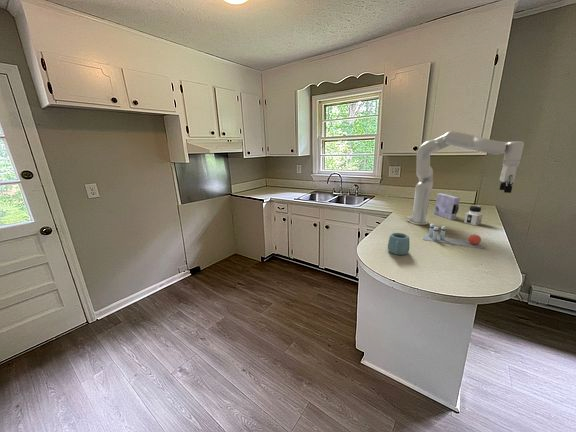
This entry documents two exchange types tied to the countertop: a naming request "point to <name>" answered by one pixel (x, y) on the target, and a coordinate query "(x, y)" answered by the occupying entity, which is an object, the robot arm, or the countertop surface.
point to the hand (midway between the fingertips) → (504, 191)
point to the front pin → (442, 232)
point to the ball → (474, 239)
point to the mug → (398, 244)
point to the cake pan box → (446, 206)
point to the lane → (453, 241)
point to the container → (474, 215)
